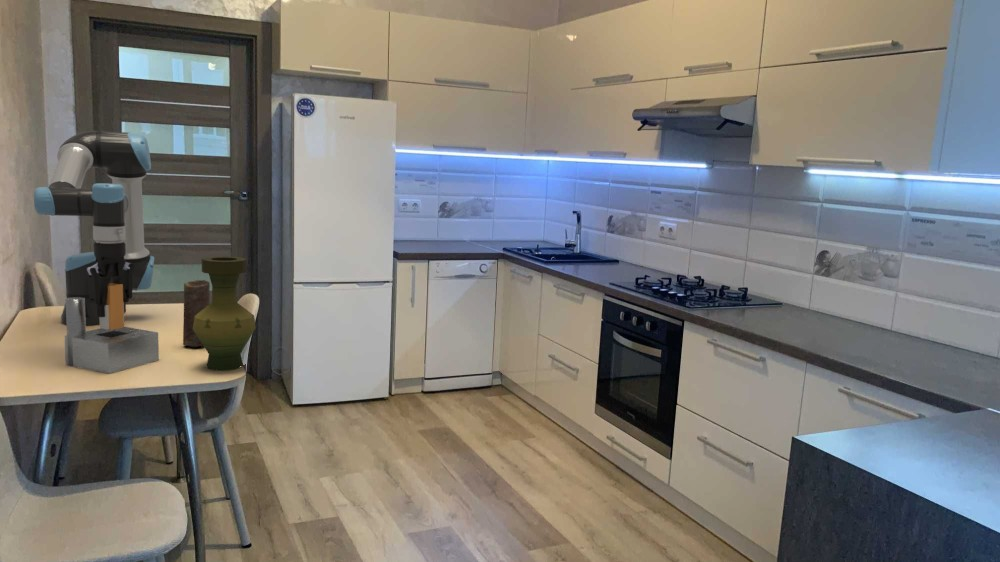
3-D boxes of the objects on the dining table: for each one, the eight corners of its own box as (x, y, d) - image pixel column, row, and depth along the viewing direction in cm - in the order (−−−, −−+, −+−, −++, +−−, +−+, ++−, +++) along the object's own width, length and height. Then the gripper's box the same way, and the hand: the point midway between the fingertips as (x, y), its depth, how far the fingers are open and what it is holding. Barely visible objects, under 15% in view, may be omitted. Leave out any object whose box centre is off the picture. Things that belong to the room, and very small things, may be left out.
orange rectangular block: (100, 328, 194) (99, 284, 192) (113, 325, 198) (111, 282, 196) (111, 330, 193) (109, 286, 191) (123, 327, 196) (122, 284, 194)
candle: (215, 345, 220) (214, 281, 217) (198, 350, 213) (197, 284, 210) (195, 342, 222) (194, 278, 219) (177, 347, 216) (176, 281, 213)
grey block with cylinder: (64, 364, 192) (61, 299, 189) (116, 352, 207) (114, 290, 204) (108, 373, 186) (106, 306, 183) (158, 360, 201) (157, 297, 198)
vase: (267, 362, 205) (267, 258, 200) (234, 376, 189) (233, 264, 185) (216, 356, 208) (215, 253, 204) (180, 370, 193) (178, 259, 188)
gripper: (91, 245, 182) (94, 334, 186) (146, 240, 198) (148, 323, 202) (70, 242, 185) (73, 330, 189) (126, 238, 201) (128, 319, 204)
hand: (112, 326), depth 195 cm, fingers closed on orange rectangular block, 4 cm apart
